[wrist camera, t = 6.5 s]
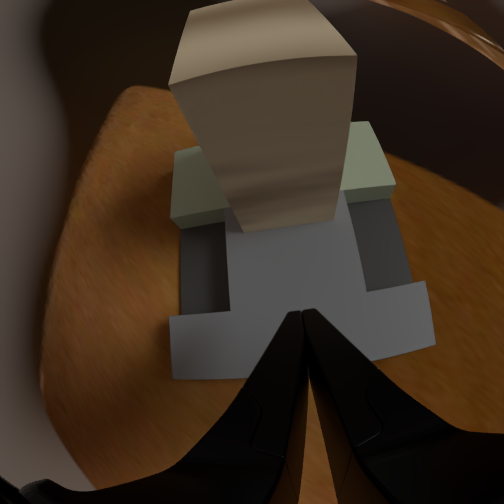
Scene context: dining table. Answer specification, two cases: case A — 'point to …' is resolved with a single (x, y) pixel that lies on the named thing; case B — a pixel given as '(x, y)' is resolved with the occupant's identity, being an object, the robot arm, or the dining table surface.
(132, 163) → the dining table surface
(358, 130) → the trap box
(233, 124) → the maple block
